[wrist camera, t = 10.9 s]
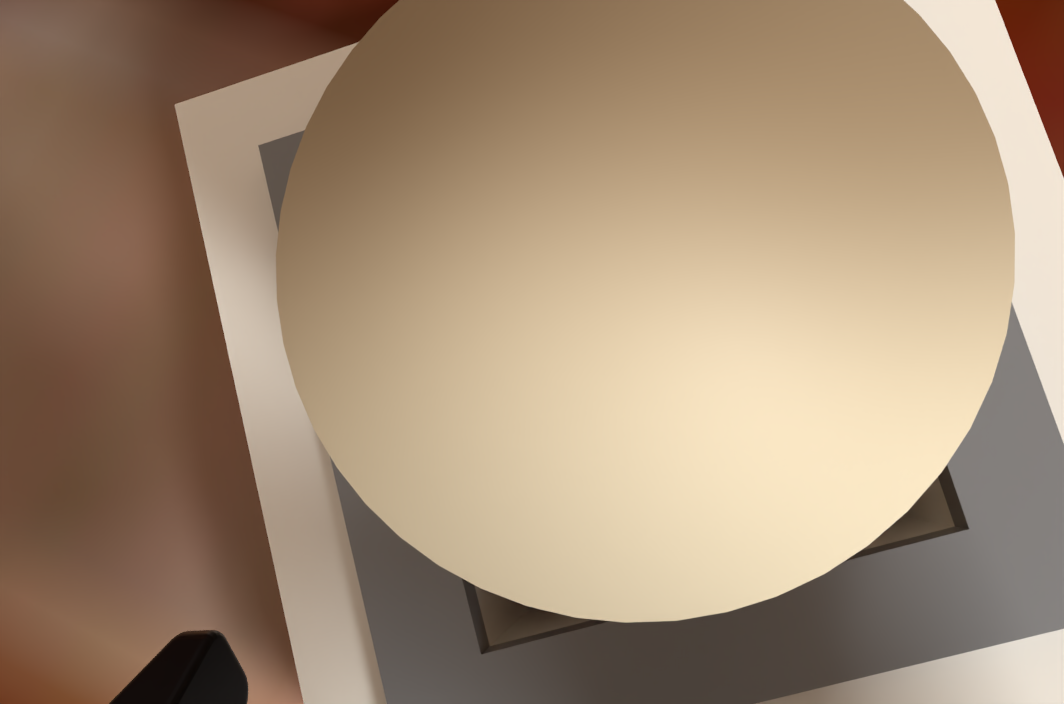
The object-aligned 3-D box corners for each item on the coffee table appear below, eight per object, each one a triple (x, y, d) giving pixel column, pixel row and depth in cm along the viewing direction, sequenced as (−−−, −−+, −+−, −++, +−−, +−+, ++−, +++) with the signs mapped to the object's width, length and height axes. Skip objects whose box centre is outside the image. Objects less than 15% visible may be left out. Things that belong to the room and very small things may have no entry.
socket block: (1103, 633, 15) (1293, 703, 11) (427, 796, 17) (331, 923, 12) (873, -5, 17) (948, -182, 13) (284, 185, 19) (153, 89, 14)
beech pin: (778, 546, 16) (981, 684, 6) (504, 505, 17) (221, 558, 6) (807, 271, 17) (1043, -82, 6) (540, 244, 18) (335, -111, 7)
